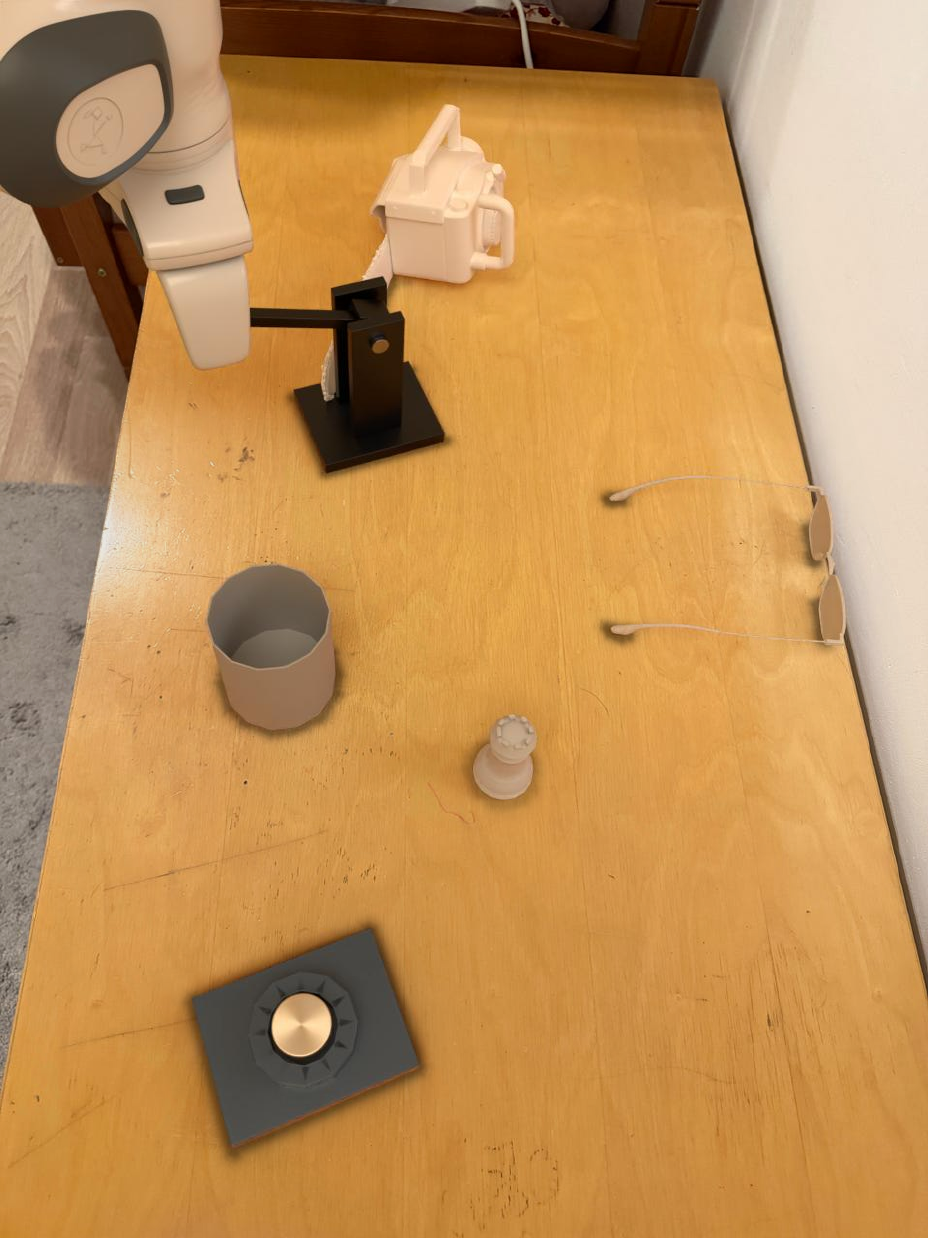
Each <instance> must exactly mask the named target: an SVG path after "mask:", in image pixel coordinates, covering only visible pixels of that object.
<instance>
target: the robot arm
mask: <svg viewBox="0 0 928 1238" xmlns="http://www.w3.org/2000/svg"><path fill="white" fill-rule="evenodd" d="M223 29H224V28H223V18H222V10H221V1H220V0H0V192H2V193H4V194H6V195H7V196H9V197H12V198H14V199H16V200H17V201H20V202H21V203H23V204H26V205H28V206H32V207H36V208H43V209H54V208H61V207H66V206H69V205H72V204H76V203H78V202H80V201H83V200H85V199H87V198H89V197H91V196H93V195H94V194H97V193H98V194H100V196H101V198H102V199H103V200H105V202H107V203H108V204H109V205H110V206H111V208H112V210H113V212H115V214H116V215H117V216H118V218H119V219H120V220H121V221H122V223H123V224H124V226H125V227H126V229H127V231H128V233H129V234H130V236H131V238H132V240H133V242H134V244H135V246H136V248H137V250H138V252H139V255H140V257H142V259H143V261H144V265H145V266H146V268H147V269H148V270H149V271H151V272H155V274H156V276H157V278H158V281H159V283H160V285H161V287H162V289H163V293H164V295H165V297H166V300H167V302H168V305H169V308H170V310H171V313H172V316H173V318H174V322H175V324H176V327H177V330H178V333H179V336H180V337H181V338H180V339H181V341H182V343H183V346H184V349H185V351H186V354H187V357H188V359H189V361H190V363H191V365H192V366H193V367H194V368H195V369H196V370H197V371H210V370H215V369H220V368H226V367H229V366H233V365H237V364H240V363H242V362H243V361H245V360H246V359H247V358H248V357H249V354H250V352H251V346H252V345H251V343H252V341H251V339H252V338H251V336H252V335H251V327H250V308H251V307H250V306H251V305H250V288H249V287H250V286H249V276H248V271H247V264H246V263H247V262H246V259H245V255H246V254H249V253H252V252H253V251H254V248H255V247H254V245H255V244H254V243H255V242H254V234H253V233H254V232H253V228H252V223H251V219H250V214H249V210H248V207H247V203H246V200H245V197H244V194H243V190H242V186H241V174H240V166H239V165H240V164H239V156H238V155H239V154H238V148H237V144H236V138H235V128H234V119H233V109H232V108H233V107H232V101H231V100H232V99H231V95H230V91H229V88H228V84H227V82H226V80H225V77H224V75H223V73H222V69H221V65H220V54H221V51H222V50H221V49H222V44H223V37H224V36H223V35H224V30H223Z"/></svg>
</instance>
